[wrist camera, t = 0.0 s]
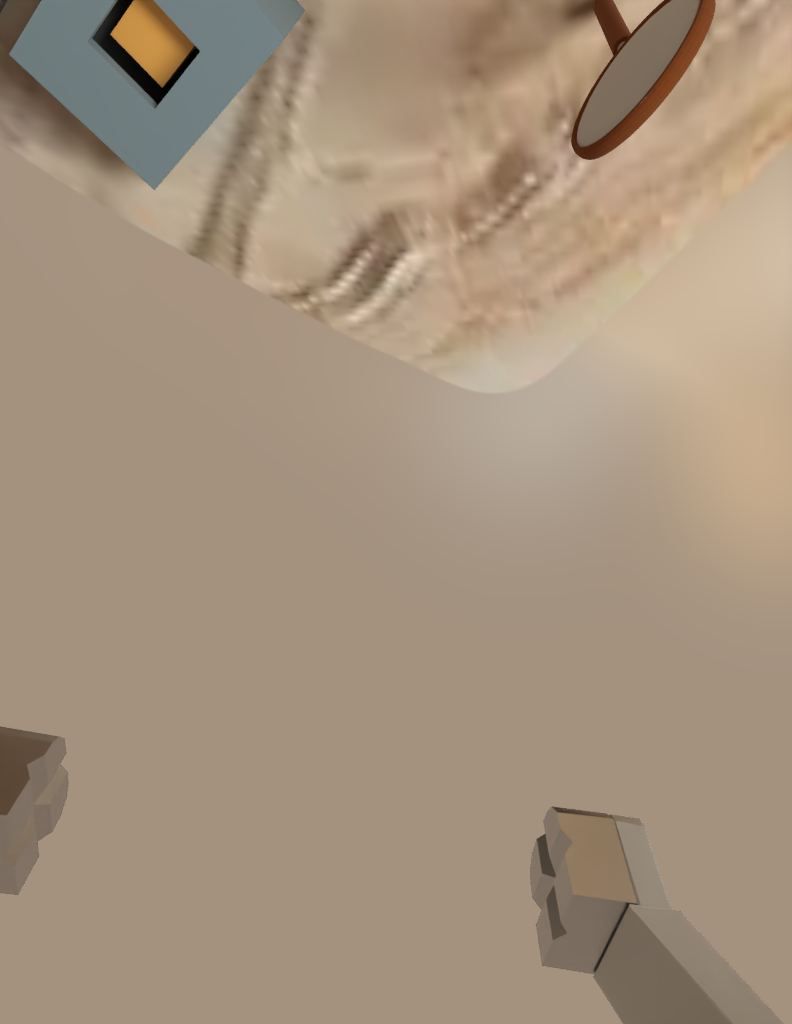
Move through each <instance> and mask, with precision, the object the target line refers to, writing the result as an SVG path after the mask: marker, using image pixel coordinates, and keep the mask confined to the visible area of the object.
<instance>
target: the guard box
mask: <svg viewBox="0 0 792 1024" xmlns="http://www.w3.org/2000/svg"><path fill="white" fill-rule="evenodd" d="M117 1H118V0H41V2H40V3H39V5H38V7H37V8H36V10H35V12H34V13H33V15H32V17H31V18H30V20H29V22H28V23H27V25H26V27H25V28H24V30H23V32H22V33H21V35H20V37H19V38H18V40H17V42H16V43H15V45H14V47H13V48H12V50H11V52H10V53H9V55H10V56H11V57H12V58H13V59H14V60H15V61H16V62H18V63H19V64H20V65H21V66H22V67H23V68H24V69H25V70H26V71H27V72H28V73H29V74H30V75H31V76H33V77H34V78H35V79H36V80H37V81H38V82H39V83H40V84H41V85H42V86H43V87H44V88H45V89H46V90H48V91H49V92H50V93H51V94H52V95H53V96H54V97H55V98H56V99H57V100H58V101H59V102H60V103H61V104H63V105H64V106H65V107H66V108H67V109H68V110H69V111H70V112H71V113H72V114H73V115H74V116H75V117H77V118H78V119H79V120H80V121H81V122H82V123H83V124H84V125H85V126H86V127H87V128H88V129H89V130H90V131H92V132H93V133H94V134H95V135H96V136H97V137H98V138H99V139H100V140H101V141H102V142H103V143H104V144H105V145H107V146H108V147H109V148H110V149H111V150H112V151H113V152H114V153H115V154H116V155H117V156H118V157H119V158H120V159H122V160H123V161H124V162H125V163H126V164H127V165H128V166H129V167H130V168H131V169H132V170H133V171H134V172H136V173H137V174H138V175H139V176H140V177H141V178H142V179H143V180H144V181H145V182H146V183H147V184H148V185H149V186H151V187H152V188H153V189H154V190H155V189H156V188H157V187H158V186H159V184H160V183H161V182H162V181H163V180H164V179H165V177H166V176H167V175H168V174H169V173H170V172H171V170H172V169H173V168H174V167H175V166H176V165H177V163H178V162H179V161H180V160H181V159H182V158H183V156H184V155H185V154H186V153H187V152H188V151H189V149H190V148H191V147H192V146H193V145H194V144H195V142H196V141H197V140H198V139H199V138H200V137H201V135H202V134H203V133H204V132H205V131H206V130H207V128H208V127H209V126H210V125H211V124H212V123H213V121H214V120H215V119H216V118H217V117H218V116H219V114H220V113H221V112H222V111H223V110H224V109H225V107H226V106H227V105H228V104H229V103H230V102H231V100H232V99H233V98H234V97H235V96H236V95H237V93H238V92H239V91H240V90H241V89H242V88H243V86H244V85H245V84H246V83H247V82H248V81H249V79H250V78H251V77H252V76H253V75H254V74H255V72H256V71H257V70H258V69H259V68H260V67H261V65H262V64H263V63H264V62H265V61H266V60H267V58H268V57H269V56H270V55H271V54H272V53H273V51H274V50H275V49H276V48H277V47H278V46H279V44H280V43H281V42H282V41H283V40H284V39H285V37H286V36H287V35H288V33H289V32H290V30H291V29H292V28H293V26H294V25H295V24H296V22H297V21H298V20H299V18H300V17H301V15H302V14H303V13H304V11H305V10H304V9H303V8H302V7H301V5H300V4H299V3H298V2H297V0H154V1H155V3H156V4H157V5H158V6H159V7H160V8H161V9H162V10H163V11H164V12H165V13H166V15H167V16H168V17H169V18H170V19H171V20H172V21H173V22H174V23H175V24H176V25H177V26H178V28H179V29H180V30H181V31H182V32H183V33H184V34H185V35H186V36H187V37H188V38H189V40H190V41H191V42H192V43H193V44H194V45H195V46H196V47H197V48H198V49H199V50H200V53H199V54H198V55H197V56H196V58H195V59H194V60H193V61H192V63H191V64H190V65H189V66H188V68H187V69H186V70H185V72H184V73H183V74H182V75H181V77H180V78H179V79H178V80H177V82H176V83H175V84H174V86H173V87H172V88H171V89H170V91H169V92H168V93H167V94H166V96H165V97H164V98H163V100H162V101H161V102H160V103H159V105H158V104H157V103H156V102H155V101H154V100H153V99H152V98H151V97H150V96H149V95H148V94H147V93H146V92H145V91H144V90H143V89H142V88H141V87H140V86H139V85H138V84H137V83H136V82H135V81H134V80H133V79H132V78H131V77H130V76H129V75H128V74H127V73H126V72H125V71H124V70H123V69H122V68H121V67H120V66H119V65H118V64H117V63H116V62H115V61H114V60H113V59H112V58H111V57H110V56H109V55H108V54H107V53H106V52H105V51H104V50H103V49H102V48H101V47H100V46H99V45H98V44H97V43H96V42H95V41H94V40H93V39H92V38H93V37H94V35H95V34H96V32H97V31H98V29H99V28H100V26H101V25H102V23H103V22H104V20H105V19H106V17H107V16H108V14H109V13H110V11H111V10H112V8H113V7H114V5H115V4H116V2H117Z"/></svg>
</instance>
